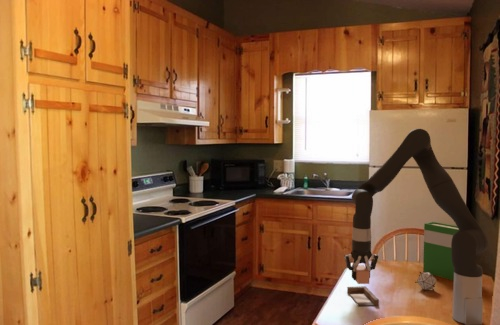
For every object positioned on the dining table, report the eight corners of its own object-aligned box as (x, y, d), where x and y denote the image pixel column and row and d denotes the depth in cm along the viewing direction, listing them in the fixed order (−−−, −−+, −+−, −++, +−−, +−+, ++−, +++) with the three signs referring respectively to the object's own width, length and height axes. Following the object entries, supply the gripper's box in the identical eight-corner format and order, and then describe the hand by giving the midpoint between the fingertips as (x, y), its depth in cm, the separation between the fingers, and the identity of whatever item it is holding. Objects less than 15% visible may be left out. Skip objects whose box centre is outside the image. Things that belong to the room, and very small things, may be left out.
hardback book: (466, 278, 200) (468, 227, 198) (458, 281, 195) (460, 230, 194) (431, 269, 214) (432, 221, 212) (423, 271, 210) (424, 223, 208)
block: (363, 276, 179) (363, 265, 179) (369, 283, 171) (369, 271, 171) (352, 277, 179) (352, 265, 178) (358, 283, 171) (358, 271, 171)
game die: (430, 299, 184) (441, 286, 178) (411, 291, 186) (421, 277, 179) (431, 283, 191) (442, 270, 185) (412, 276, 192) (422, 262, 186)
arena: (378, 305, 169) (378, 299, 168) (358, 306, 168) (358, 300, 168) (365, 291, 183) (365, 286, 183) (347, 292, 183) (347, 286, 183)
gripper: (375, 235, 178) (374, 276, 179) (341, 236, 177) (341, 276, 178) (382, 240, 170) (381, 282, 172) (346, 241, 169) (346, 283, 171)
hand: (360, 279), depth 175 cm, fingers closed on block, 4 cm apart
